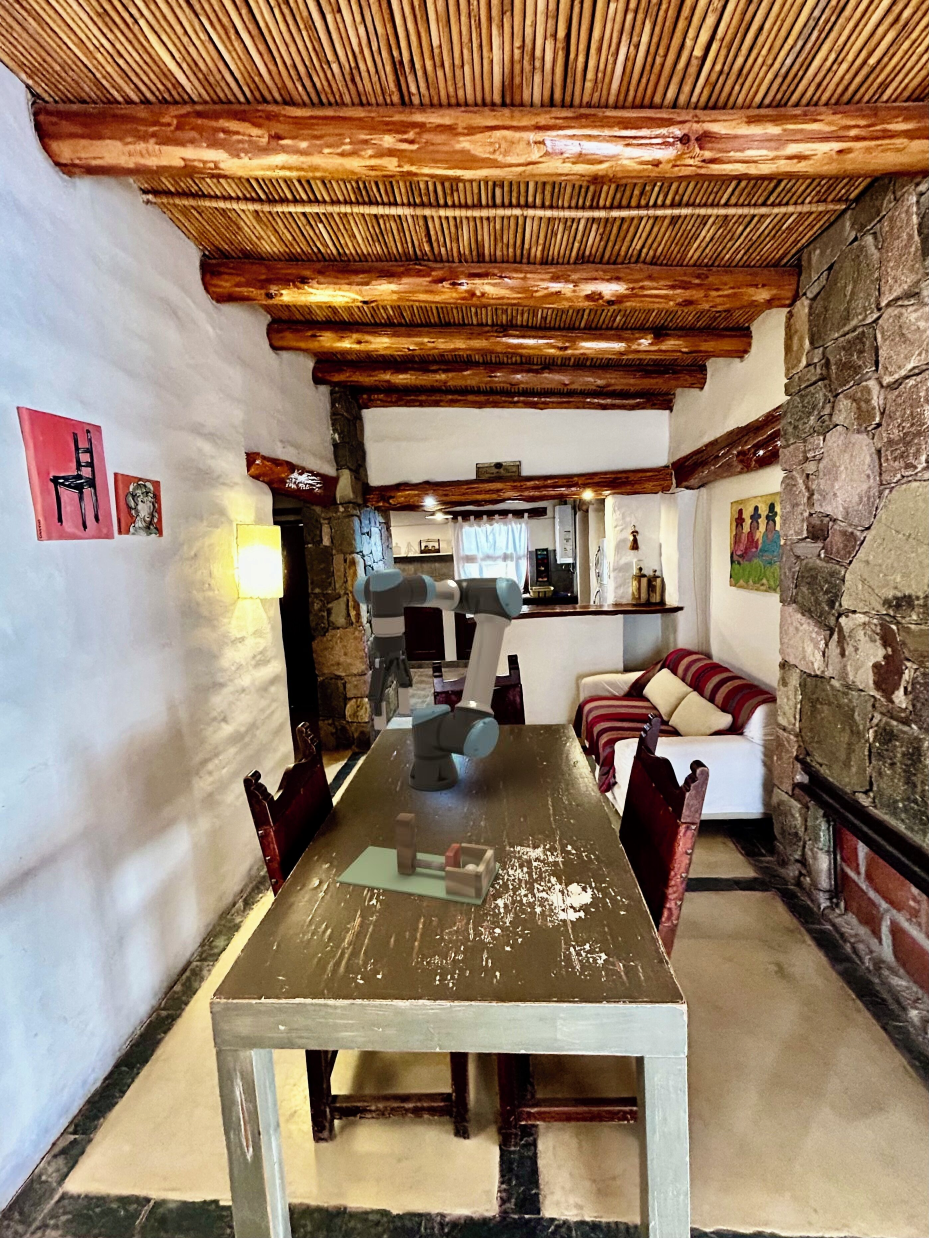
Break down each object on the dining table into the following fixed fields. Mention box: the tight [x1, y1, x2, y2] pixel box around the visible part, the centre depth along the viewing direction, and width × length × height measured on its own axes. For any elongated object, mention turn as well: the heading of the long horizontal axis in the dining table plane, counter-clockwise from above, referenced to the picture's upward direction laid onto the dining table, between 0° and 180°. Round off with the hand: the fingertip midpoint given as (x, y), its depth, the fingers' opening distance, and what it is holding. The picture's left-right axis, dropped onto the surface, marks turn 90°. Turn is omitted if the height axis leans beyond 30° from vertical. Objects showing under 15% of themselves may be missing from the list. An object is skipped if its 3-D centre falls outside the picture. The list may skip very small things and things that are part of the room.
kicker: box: [394, 812, 461, 874], centre depth 124 cm, size 5×13×12 cm, turn 72°
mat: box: [336, 845, 501, 906], centre depth 126 cm, size 15×32×1 cm, turn 72°
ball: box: [464, 864, 478, 871], centre depth 122 cm, size 4×4×4 cm
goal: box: [445, 842, 497, 899], centre depth 122 cm, size 11×7×5 cm, turn 162°
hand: (393, 721), depth 142 cm, fingers open, 13 cm apart
